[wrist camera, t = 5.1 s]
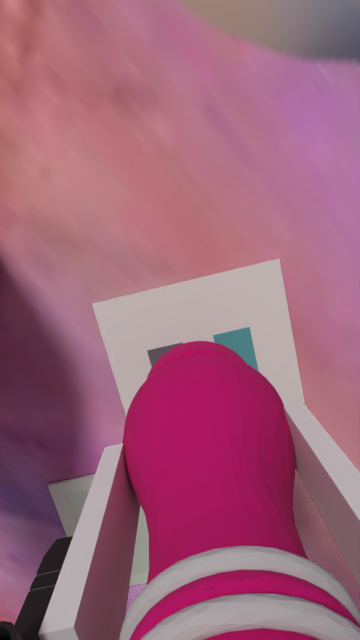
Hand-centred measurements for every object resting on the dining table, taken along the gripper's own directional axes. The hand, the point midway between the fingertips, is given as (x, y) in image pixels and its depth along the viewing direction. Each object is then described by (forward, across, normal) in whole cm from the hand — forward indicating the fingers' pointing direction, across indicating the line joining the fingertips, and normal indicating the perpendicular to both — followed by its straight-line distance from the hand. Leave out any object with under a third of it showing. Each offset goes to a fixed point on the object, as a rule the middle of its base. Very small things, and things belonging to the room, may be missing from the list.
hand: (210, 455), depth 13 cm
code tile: (+9, +1, 0) cm, 9 cm away
